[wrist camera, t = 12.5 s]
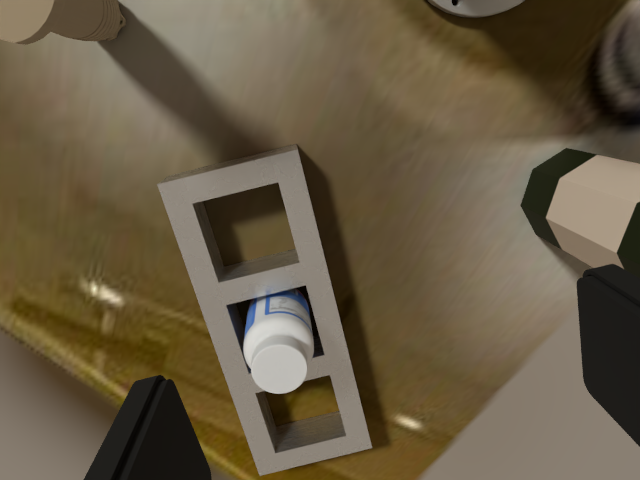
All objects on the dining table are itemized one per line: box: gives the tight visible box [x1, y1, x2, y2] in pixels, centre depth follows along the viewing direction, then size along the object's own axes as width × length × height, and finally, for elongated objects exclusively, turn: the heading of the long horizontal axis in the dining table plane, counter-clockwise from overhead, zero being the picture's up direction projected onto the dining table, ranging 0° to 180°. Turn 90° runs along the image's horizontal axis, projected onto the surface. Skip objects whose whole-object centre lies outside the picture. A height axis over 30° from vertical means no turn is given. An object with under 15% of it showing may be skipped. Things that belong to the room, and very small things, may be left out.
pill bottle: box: [243, 288, 314, 394], centre depth 38 cm, size 6×5×10 cm
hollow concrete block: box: [157, 144, 372, 476], centre depth 41 cm, size 28×11×4 cm, turn 13°
